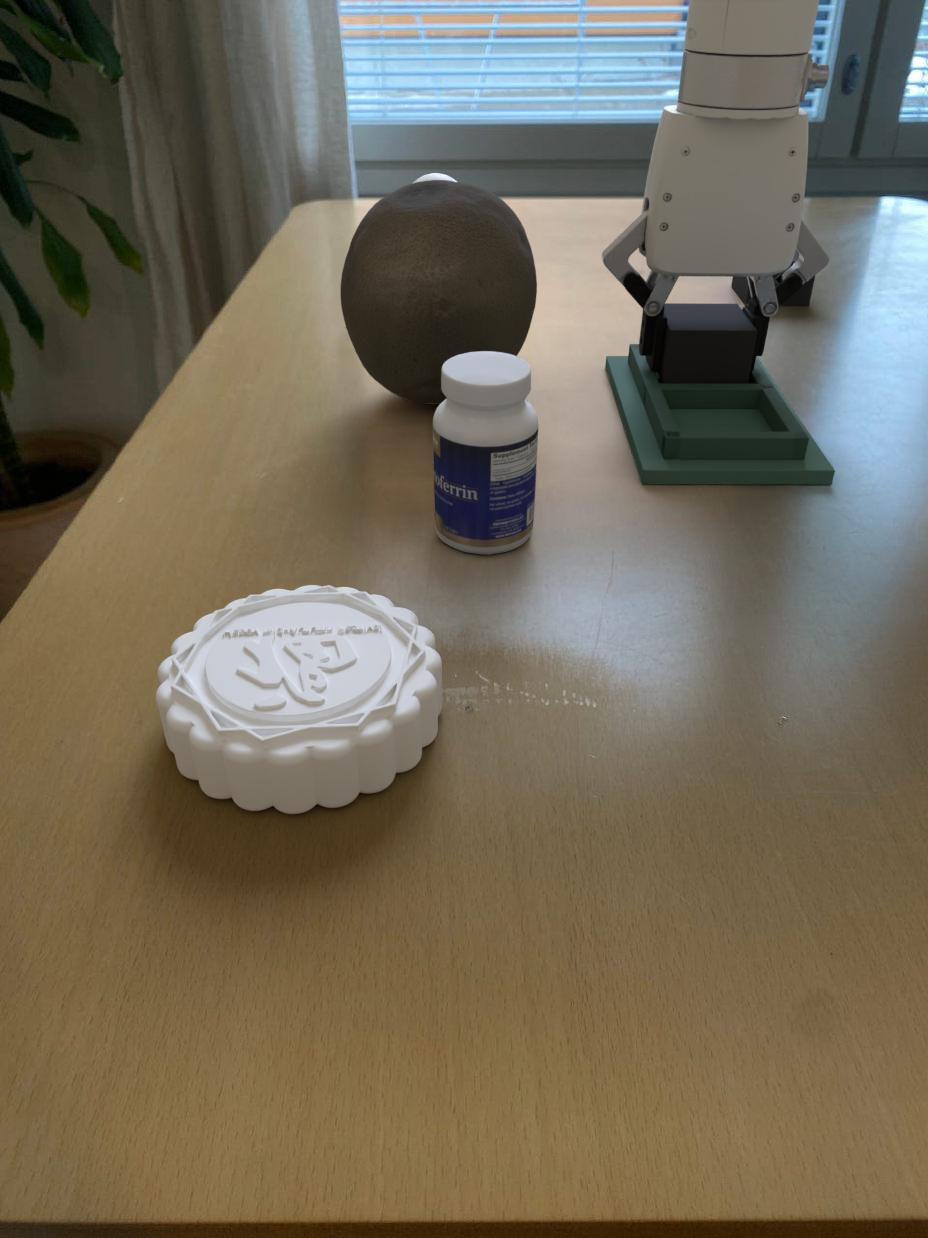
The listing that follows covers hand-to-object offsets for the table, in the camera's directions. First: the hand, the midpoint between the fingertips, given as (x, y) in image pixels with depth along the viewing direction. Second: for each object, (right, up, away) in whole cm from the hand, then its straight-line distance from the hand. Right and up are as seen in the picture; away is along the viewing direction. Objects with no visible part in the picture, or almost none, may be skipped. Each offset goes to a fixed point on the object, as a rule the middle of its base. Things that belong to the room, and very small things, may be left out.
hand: (698, 362), depth 69 cm
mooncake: (-24, -23, -27) cm, 43 cm away
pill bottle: (-16, -14, -14) cm, 26 cm away
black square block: (0, 0, 0) cm, 1 cm away
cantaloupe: (-19, -3, +1) cm, 19 cm away
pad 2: (+12, +12, +22) cm, 28 cm away
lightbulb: (-20, +12, +21) cm, 31 cm away
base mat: (0, -5, -2) cm, 5 cm away
